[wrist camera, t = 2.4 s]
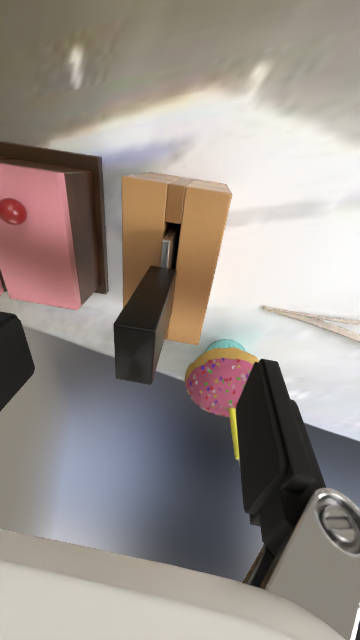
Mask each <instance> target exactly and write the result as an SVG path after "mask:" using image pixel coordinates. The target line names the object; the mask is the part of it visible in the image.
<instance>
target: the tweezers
mask: <svg viewBox="0 0 360 640" xmlns="http://www.w3.org/2000/svg"><path fill="white" fill-rule="evenodd" d="M263 309H264V310H267V311H270V312H274V313H278V314H281V315H284V316H287V317H291V318H294V319H297V320H301V321H304V322H307V323H310V324H313V325H315V326H318V327H321V328H324V329H326V330H329V331H332V332H335V333H337V334H340V335H343V336H346V337H348V338H351V339H353V340H355V341H358V342H360V335H359V334H357V333H354V332H352V331H349V330H347V329H344V328H342V327H339V326H336V325H333V324H331V323H328V322H325V321H323V320H320V319H325V320H330V321H335V322H342V323H347V324H355V325H360V321H356V320H346V319H337V318H330V317H322V316H316V315H310V314H304V313H298V312H291V311H286V310H280V309H275V308H269V307H263ZM315 318H316V319H315Z"/></svg>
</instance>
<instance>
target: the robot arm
mask: <svg viewBox="0 0 360 640" xmlns="http://www.w3.org/2000/svg"><path fill="white" fill-rule="evenodd" d="M34 370H35V367H34V363H33V360H32V356H31V353H30V350H29V347H28V343H27V340H26V337H25V333H24V330H23V327H22V323H21V321H20V319H18V317H17V316H16V315H15V314H11V313H5V312H0V411H1V410H2V409H3V408H4V407H5V405H6V404H7V403H8V402H9V401H10V400H11V398H12V397H13V396H14V395H15V394H16V393H17V392H18V391H19V390H20V388H21V387H22V386H23V385H24V384H25V383H26V382H27V380H28V379H29V378H30V377H31V376H32V375H33V373H34ZM236 424H237V436H238V447H239V459H240V470H241V482H242V493H243V504H244V510H245V512H246V513H248V514H249V515H250V524H251V525H256V526H261V534H262V541H263V542H264V545H263V547H262V549H261V550H260V552H259V554H258V556H257V557H256V559H255V561H254V563H253V564H252V566H251V568H250V570H249V571H248V573H247V575H246V577H245V579H244V580H243V582H242V583H241V582H237V581H234V580H231V579H227V578H223V577H218V576H214V575H210V574H205V573H202V572H197V571H193V570H189V569H184V568H180V567H177V566H172V565H168V564H163V563H159V562H154V561H149V560H145V559H140V558H135V557H131V556H126V555H121V554H117V553H112V552H107V551H103V550H99V549H94V548H89V547H84V546H79V545H75V544H71V543H66V542H61V541H56V540H51V539H46V538H42V537H37V536H33V535H28V534H23V533H19V532H14V531H9V530H4V529H0V640H360V509H359V508H358V507H357V506H356V505H355V504H354V503H353V502H352V501H351V500H350V499H349V498H348V497H346V496H345V495H343V494H342V493H340V492H338V491H336V490H333V489H331V488H326V485H325V483H324V480H323V477H322V474H321V471H320V468H319V465H318V463H317V460H316V457H315V454H314V451H313V448H312V446H311V443H310V440H309V437H308V434H307V432H306V429H305V425H304V423H303V420H302V417H301V414H300V411H299V408H298V406H297V404H296V402H295V401H294V400H291V399H290V398H289V394H288V391H287V388H286V385H285V382H284V379H283V376H282V373H281V370H280V367H279V364H278V362H277V361H271V360H266V359H261V360H260V361H259V362H255V363H254V365H253V367H252V370H251V372H250V374H249V377H248V379H247V381H246V384H245V386H244V388H243V391H242V393H241V396H240V398H239V400H238V403H237V405H236Z"/></svg>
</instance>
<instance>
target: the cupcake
mask: <svg viewBox="0 0 360 640" xmlns="http://www.w3.org/2000/svg"><path fill="white" fill-rule="evenodd" d="M255 362H259V360H258V359H257V358H256V357H255V356H253V355H251V354H249V353H247V352H246V351H245V349H244V348H243V347H242V346H241V345H240V344H239V343H237V342H235V341H231V340H220V341H217V342H214V343H213V344H211V345H210V346H209V347H208V348H207V350H206V352H205V353H204V354H203V355H201V356H199V357H198V358H197V359H196V360H195V362H193V363H192V364H190V365H189V366H188V369H187V371H186V375H185V384H186V390H187V393H188V394H189V395H190V397H191V398H192V399H191V400H192V401H194V402H195V403H196V404H197V405H198V406H200V408H201V409H203V410H206V411H208V412H209V413H210V414H217V415H219V416H225V417H228V416H230V422H231V429H232V437H233V444H234V452H235V458H236V459H237V460H239V465H240V459H239V447H238V436H237V424H236V405H237V403H238V400H239V398H240V396H241V393H242V391H243V388H244V386H245V384H246V381H247V379H248V377H249V374H250V372H251V370H252V367H253V365H254V363H255Z"/></svg>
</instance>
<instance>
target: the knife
mask: <svg viewBox="0 0 360 640" xmlns="http://www.w3.org/2000/svg"><path fill="white" fill-rule="evenodd" d="M180 229H181V224H177V223H174V224H173V226H172V227H171V229H170V230H169V232H168V233H167V235H166V236H165V238H164V239H163V243H162V255H161V267H157V266H150V267H149V268H148V270H147V272H146V273H145V275H144V276H143V278H142V280H141V281H140V283H139V284H138V286H137V288H136V289H135V291H134V292H133V294H132V296H131V297H130V299H129V300H128V302H127V304H126V305H125V307H124V308H123V310H122V312H121V313H120V315H119V316H118V318H117V320H116V321H115V323H114V344H115V368H116V378H117V379H121V380H126V381H131V382H138V383H142V384H148V385H150V384H151V383H152V381H153V377H154V374H155V370H156V367H157V363H158V360H159V356H160V353H161V349H162V346H163V342H164V338H165V335H166V331H167V328H168V324H169V321H170V317H171V314H172V308H173V300H174V292H175V284H176V276H177V270H176V262H177V254H178V245H179V237H180Z"/></svg>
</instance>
